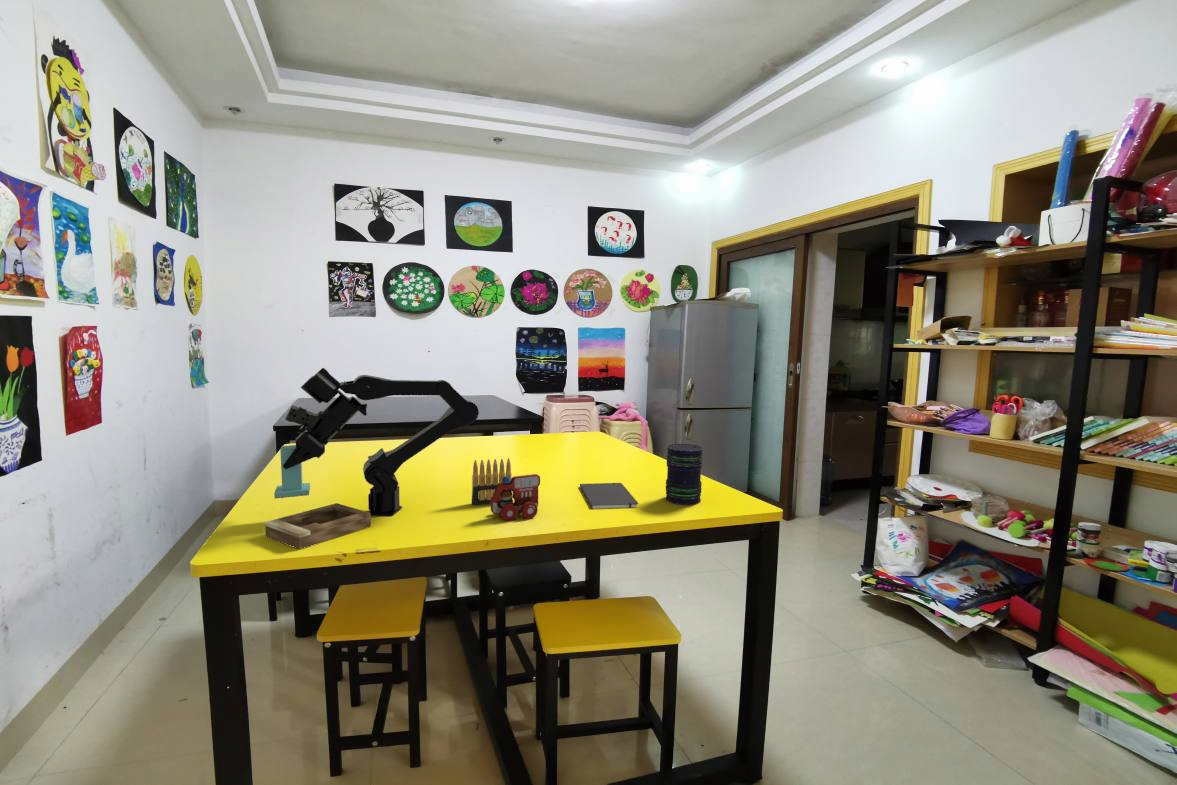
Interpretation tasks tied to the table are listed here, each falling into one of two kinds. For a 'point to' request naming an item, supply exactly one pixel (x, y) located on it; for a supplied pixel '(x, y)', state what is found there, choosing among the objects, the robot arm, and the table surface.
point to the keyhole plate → (317, 525)
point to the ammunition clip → (487, 481)
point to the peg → (291, 477)
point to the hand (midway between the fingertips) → (285, 465)
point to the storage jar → (684, 474)
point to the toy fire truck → (516, 497)
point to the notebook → (608, 495)
